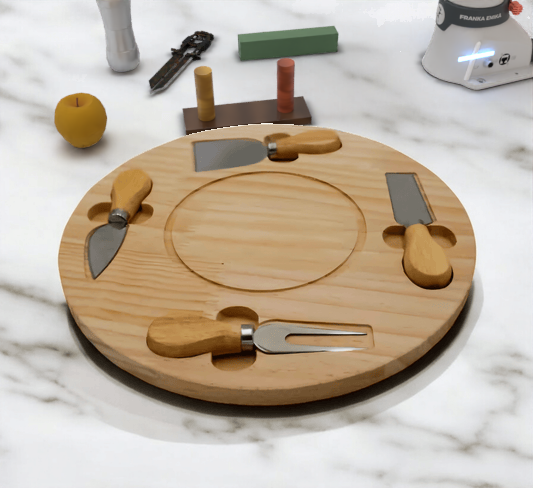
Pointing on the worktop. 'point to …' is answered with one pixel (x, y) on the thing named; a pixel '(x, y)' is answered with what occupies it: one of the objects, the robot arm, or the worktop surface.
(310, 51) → the bar
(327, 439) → the worktop surface
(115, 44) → the plastic bottle
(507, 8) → the robot arm
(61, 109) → the apple
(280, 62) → the rods
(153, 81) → the knife
